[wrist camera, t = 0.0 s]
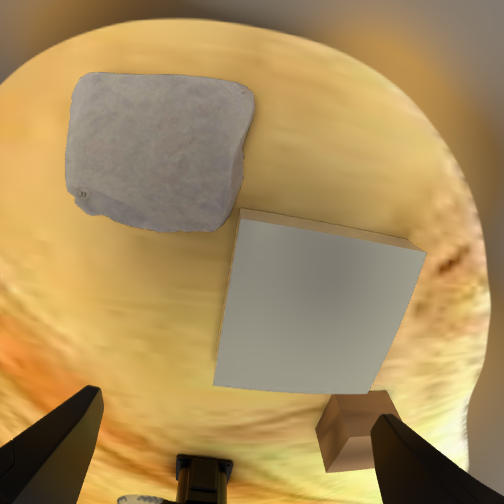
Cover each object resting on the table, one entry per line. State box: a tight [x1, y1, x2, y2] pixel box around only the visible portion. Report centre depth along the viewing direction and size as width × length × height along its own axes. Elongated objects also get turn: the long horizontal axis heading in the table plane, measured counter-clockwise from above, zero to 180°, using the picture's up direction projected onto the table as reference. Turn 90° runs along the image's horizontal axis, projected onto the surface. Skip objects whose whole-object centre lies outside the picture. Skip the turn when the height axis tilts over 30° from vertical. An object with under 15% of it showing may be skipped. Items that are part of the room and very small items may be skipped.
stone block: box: [65, 72, 255, 233], centre depth 19 cm, size 12×5×10 cm
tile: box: [213, 208, 427, 394], centre depth 23 cm, size 13×13×3 cm
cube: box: [315, 390, 402, 473], centre depth 26 cm, size 6×6×6 cm
